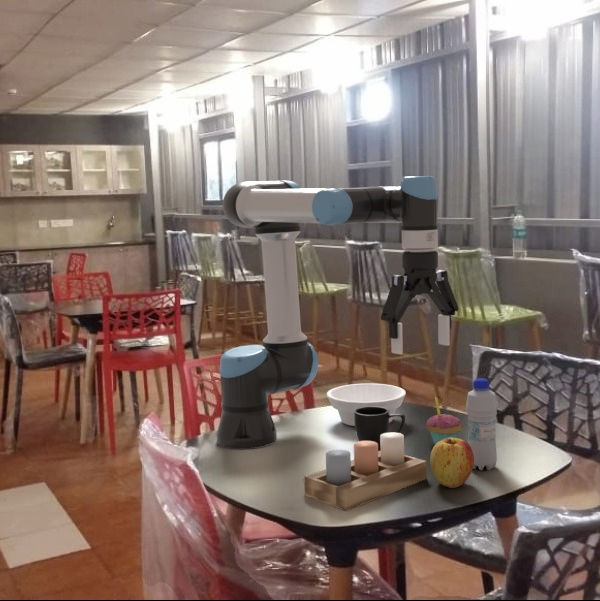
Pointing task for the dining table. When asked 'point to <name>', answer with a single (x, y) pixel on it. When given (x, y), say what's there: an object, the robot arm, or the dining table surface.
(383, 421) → the mug
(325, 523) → the dining table surface
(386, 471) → the wooden peg tray
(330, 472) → the blue-grey cylinder
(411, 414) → the dining table surface
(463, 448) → the apple
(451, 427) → the cupcake
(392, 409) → the bowl
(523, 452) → the dining table surface
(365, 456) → the peach cylinder
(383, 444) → the white cylinder
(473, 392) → the bottle
